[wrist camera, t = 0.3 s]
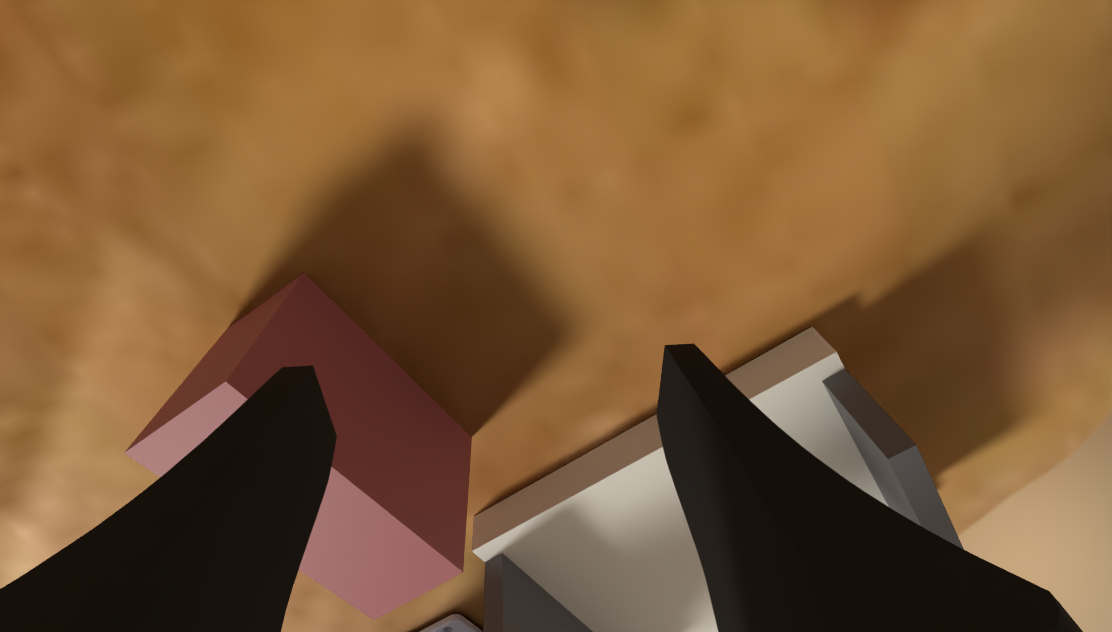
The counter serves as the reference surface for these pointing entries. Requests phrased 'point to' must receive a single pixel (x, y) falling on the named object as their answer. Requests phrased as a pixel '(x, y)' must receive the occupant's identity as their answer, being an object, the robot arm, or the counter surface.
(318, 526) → the burgundy book
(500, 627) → the grey open rack
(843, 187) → the counter surface
